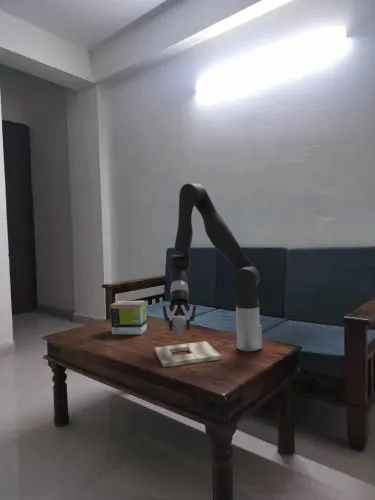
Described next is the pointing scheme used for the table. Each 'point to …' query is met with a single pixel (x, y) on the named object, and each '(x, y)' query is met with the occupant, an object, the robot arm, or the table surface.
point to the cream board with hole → (197, 350)
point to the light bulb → (179, 326)
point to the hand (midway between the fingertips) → (179, 330)
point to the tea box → (128, 317)
